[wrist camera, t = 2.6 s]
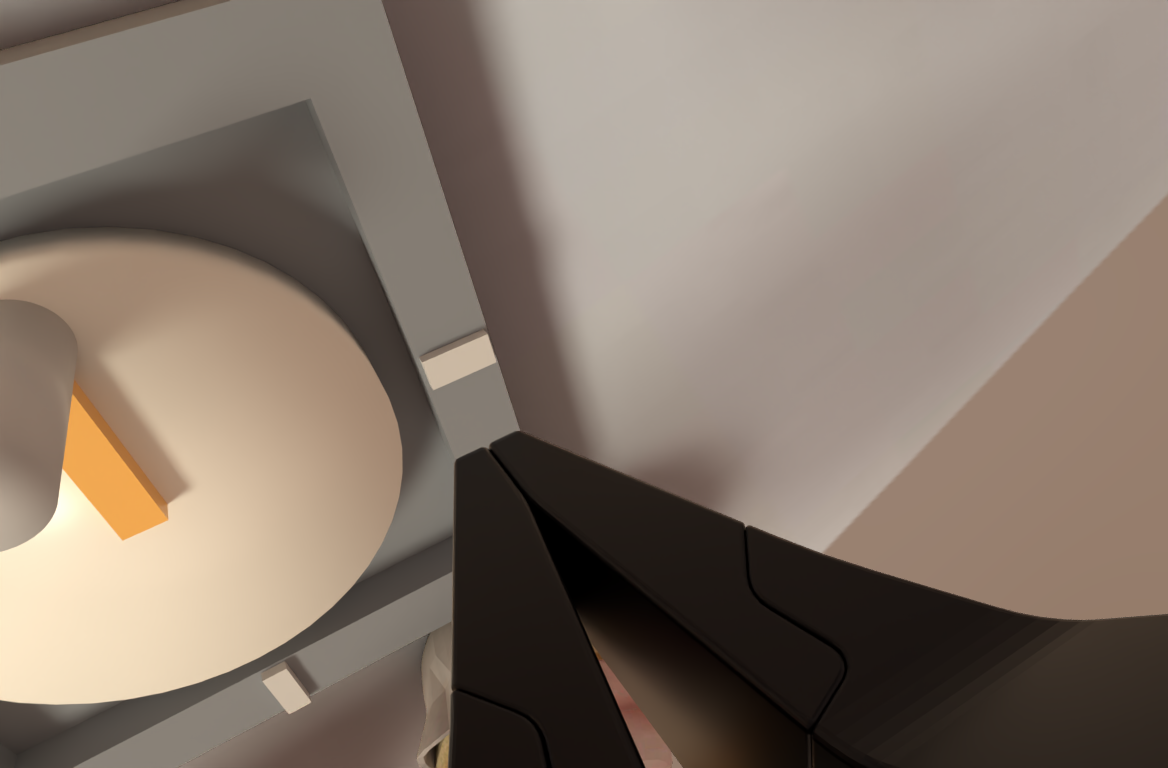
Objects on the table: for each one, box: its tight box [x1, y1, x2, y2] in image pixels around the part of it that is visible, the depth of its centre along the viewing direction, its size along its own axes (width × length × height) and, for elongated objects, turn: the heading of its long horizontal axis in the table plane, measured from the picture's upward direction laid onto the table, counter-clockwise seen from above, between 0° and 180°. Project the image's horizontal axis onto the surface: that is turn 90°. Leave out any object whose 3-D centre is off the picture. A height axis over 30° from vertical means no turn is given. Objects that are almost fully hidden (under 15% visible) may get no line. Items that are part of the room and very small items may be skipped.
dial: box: [0, 227, 403, 705], centre depth 16 cm, size 12×12×7 cm
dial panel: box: [0, 0, 520, 768], centre depth 19 cm, size 18×18×3 cm
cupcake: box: [416, 621, 673, 768], centre depth 26 cm, size 9×9×10 cm
